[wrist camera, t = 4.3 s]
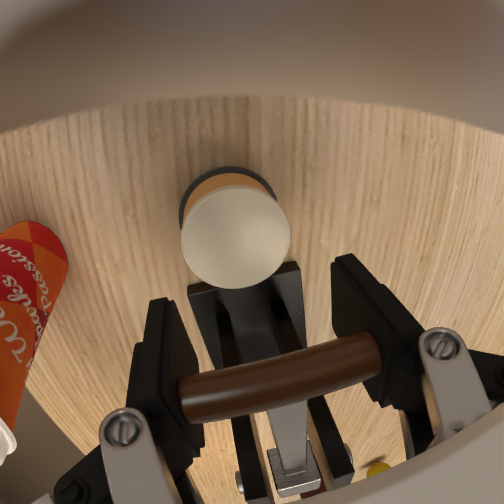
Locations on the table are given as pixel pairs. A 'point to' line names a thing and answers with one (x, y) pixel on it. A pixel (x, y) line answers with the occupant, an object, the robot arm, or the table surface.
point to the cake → (232, 228)
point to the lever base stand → (261, 347)
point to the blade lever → (282, 398)
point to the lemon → (377, 468)
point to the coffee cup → (24, 310)
